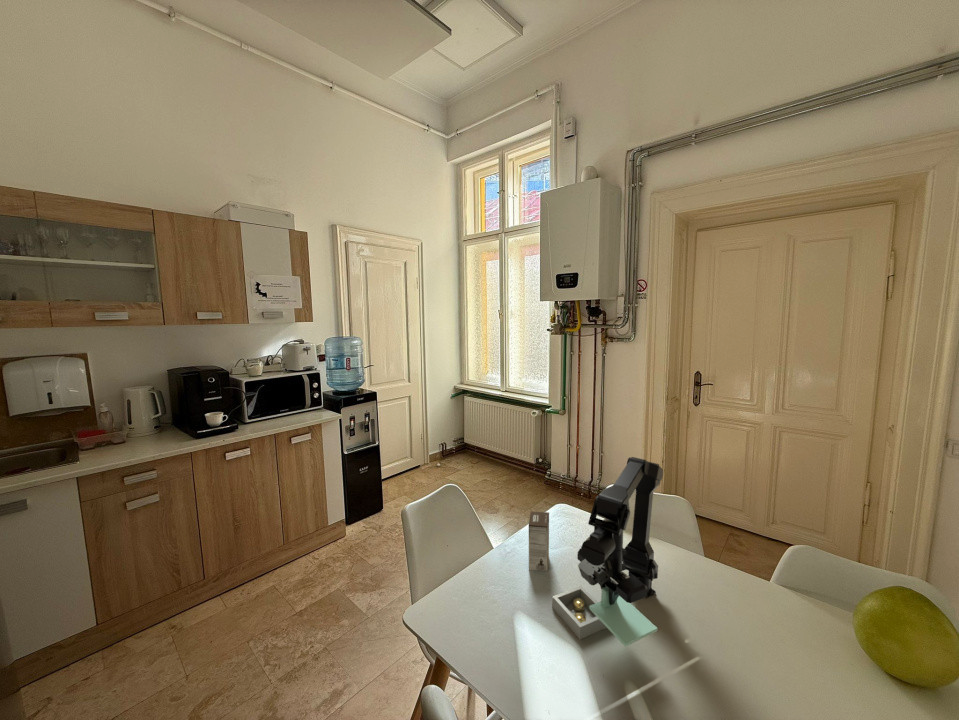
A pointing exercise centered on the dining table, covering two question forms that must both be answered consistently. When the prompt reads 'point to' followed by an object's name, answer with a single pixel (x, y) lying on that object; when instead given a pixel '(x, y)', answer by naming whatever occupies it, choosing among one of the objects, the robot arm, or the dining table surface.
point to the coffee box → (539, 541)
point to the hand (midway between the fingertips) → (609, 602)
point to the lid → (622, 619)
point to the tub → (566, 612)
